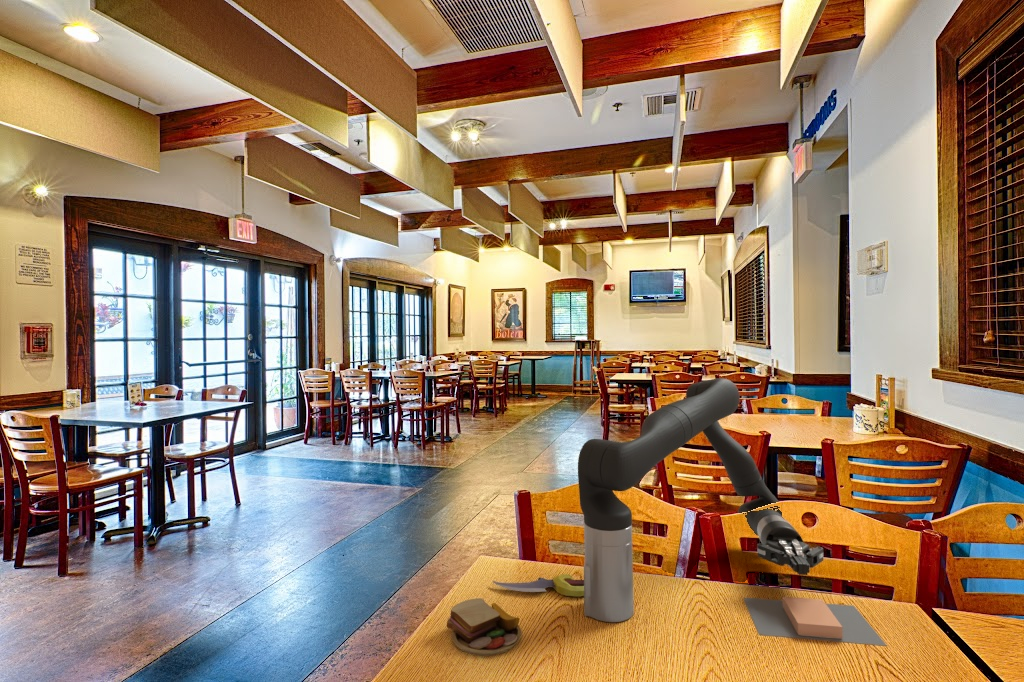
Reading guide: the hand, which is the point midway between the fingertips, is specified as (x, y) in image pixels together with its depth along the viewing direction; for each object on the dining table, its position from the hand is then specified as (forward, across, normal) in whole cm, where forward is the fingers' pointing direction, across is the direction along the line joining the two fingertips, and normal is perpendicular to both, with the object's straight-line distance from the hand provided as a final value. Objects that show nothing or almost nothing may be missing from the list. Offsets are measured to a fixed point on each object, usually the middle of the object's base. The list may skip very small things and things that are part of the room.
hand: (803, 569), depth 104 cm
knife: (-4, -49, +10) cm, 50 cm away
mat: (+3, 0, +9) cm, 9 cm away
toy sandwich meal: (+17, -58, +10) cm, 61 cm away
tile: (-1, 0, +7) cm, 7 cm away
